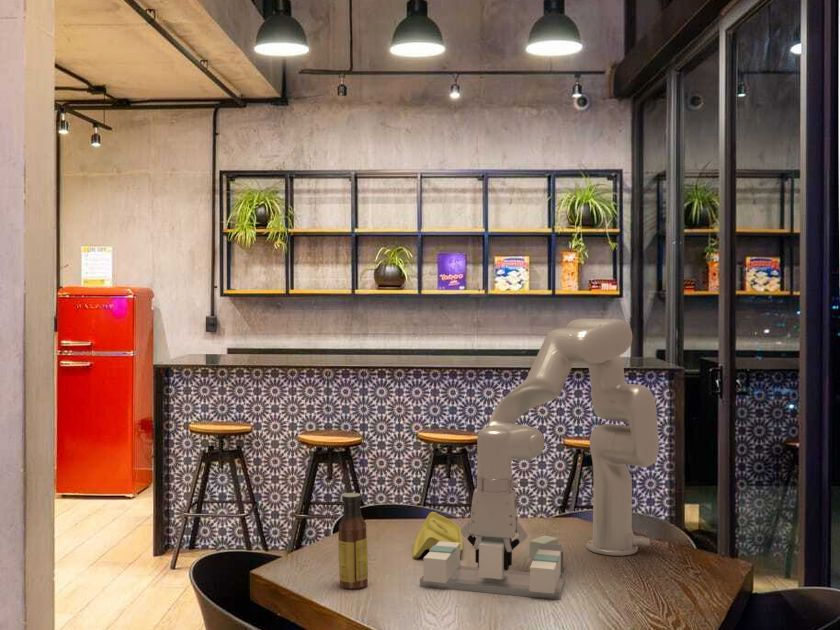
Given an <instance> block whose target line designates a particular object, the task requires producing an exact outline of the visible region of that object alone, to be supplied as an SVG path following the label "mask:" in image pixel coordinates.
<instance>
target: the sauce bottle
mask: <svg viewBox="0 0 840 630" xmlns="http://www.w3.org/2000/svg"><path fill="white" fill-rule="evenodd" d="M341 499H342V500H341V501H342V505H343V506H342V507H343V508H342V511H343V513H342V514H343V516H342V517H341V519H340V522H339V523H338V541H337V542H338V567H339V569H338V570H339V572H338V573H339V576H338V577H339V585H340V586H341V587H342V588H344V589H347V590H349V589H350V590H358V589H362V588H365V587H366V586H368V584H369V583H368V582H369V581H368V578H369V565H368V564H369V563H368V562H369V561H368V559H369V558H368V556H369V555H368V536H367V523H366V521H365V520H364V519H365V518H364V517H363V516H362V512H361V501H362V495H361V493H358V492H346V493H344V494H342V495H341Z"/></svg>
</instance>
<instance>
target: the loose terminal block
mask: <svg viewBox="0 0 840 630" xmlns="http://www.w3.org/2000/svg"><path fill="white" fill-rule="evenodd" d="M540 544H550V545H559V537H554V536H549V535H541V536H538V537H536V538H534V539H531V540H529V557H530V556H532V557H531V558H534V556H535V554H537V551H538V549H540Z"/></svg>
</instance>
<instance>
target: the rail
mask: <svg viewBox="0 0 840 630" xmlns="http://www.w3.org/2000/svg"><path fill="white" fill-rule="evenodd" d="M565 576H566V575H565V574H564V575H563V574H560V577H559V580H558V583H557V586H556V589H555V592H554V594H553V593H543V592H532V591H530V571H518V570H511V569H508V570H507V571H506V573H505V574H504V576H503V578H502V579H493V578H482V577H479V568H478V566H477V567H473V566H464V565H459V567H458V568H457V569H456V571H455V572H454V573H453V574H452V576H451V577H450V578H449V580H448V581H447V582H446V583H439V582H428V581H423V575H422V577H421V578H420V579H419V586H420V587H425V588H436V589H446V590H456V591H467V592H468V591H469V592H476V593H477V592H478V593H484V594H485V593H486V594H497V595H499V594H500V595H505V596H516V595H518V596H519V597H526V596H529V597H528V598H536V597H539V599H547V598H548V599H549V600H557V599H558V601H559V600H560V598H561V596H560V595H562V592H563V589H564V585H565V582H566V581H565V580H566V577H565ZM518 596H517V597H518Z"/></svg>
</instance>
